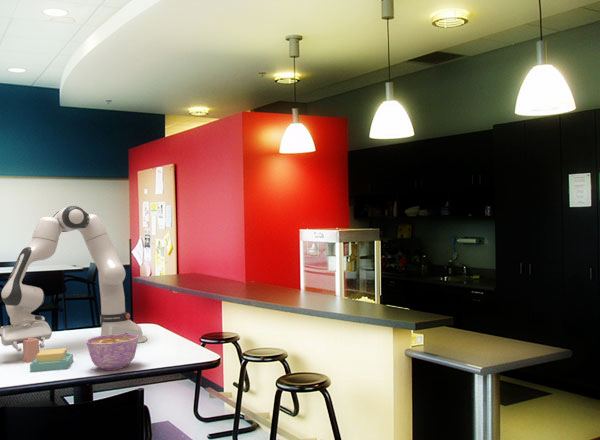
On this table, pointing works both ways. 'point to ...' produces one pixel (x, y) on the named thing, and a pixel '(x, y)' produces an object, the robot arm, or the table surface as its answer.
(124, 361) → the bowl of food
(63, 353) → the stepped square block
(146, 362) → the table surface
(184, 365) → the table surface
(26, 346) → the tall brick
